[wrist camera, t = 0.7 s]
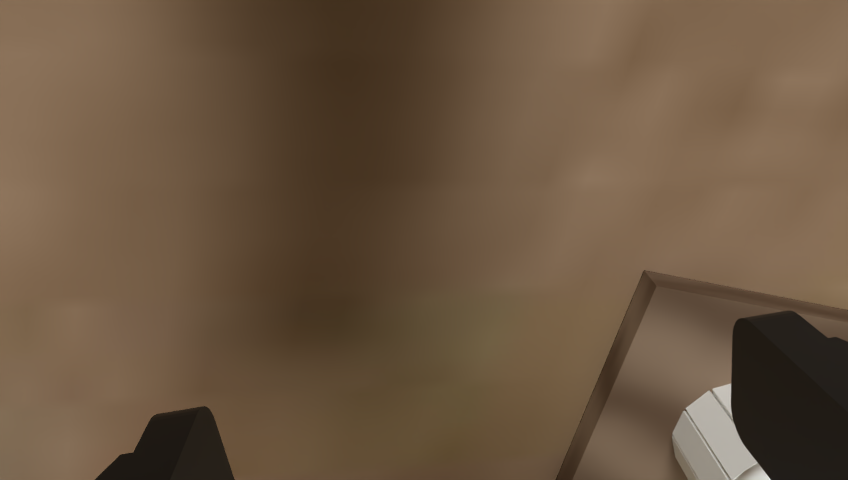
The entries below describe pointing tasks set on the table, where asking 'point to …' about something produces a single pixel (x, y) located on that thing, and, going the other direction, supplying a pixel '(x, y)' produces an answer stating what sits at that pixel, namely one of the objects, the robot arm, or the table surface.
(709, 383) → the post base
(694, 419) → the cap
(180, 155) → the table surface
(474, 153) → the table surface
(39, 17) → the table surface
